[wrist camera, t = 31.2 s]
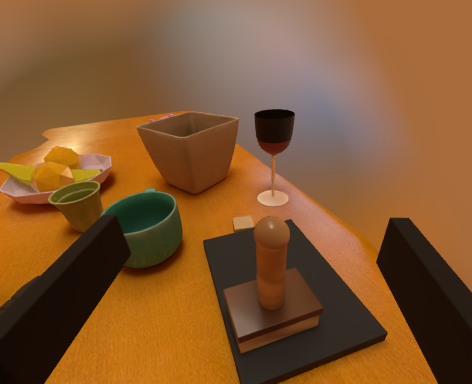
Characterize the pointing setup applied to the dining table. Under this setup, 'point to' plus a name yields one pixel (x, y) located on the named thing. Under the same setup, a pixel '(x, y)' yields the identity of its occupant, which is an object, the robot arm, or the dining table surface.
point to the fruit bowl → (53, 174)
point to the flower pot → (191, 148)
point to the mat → (305, 342)
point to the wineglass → (274, 145)
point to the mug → (148, 226)
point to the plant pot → (79, 204)
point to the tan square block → (242, 223)
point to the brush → (271, 293)
